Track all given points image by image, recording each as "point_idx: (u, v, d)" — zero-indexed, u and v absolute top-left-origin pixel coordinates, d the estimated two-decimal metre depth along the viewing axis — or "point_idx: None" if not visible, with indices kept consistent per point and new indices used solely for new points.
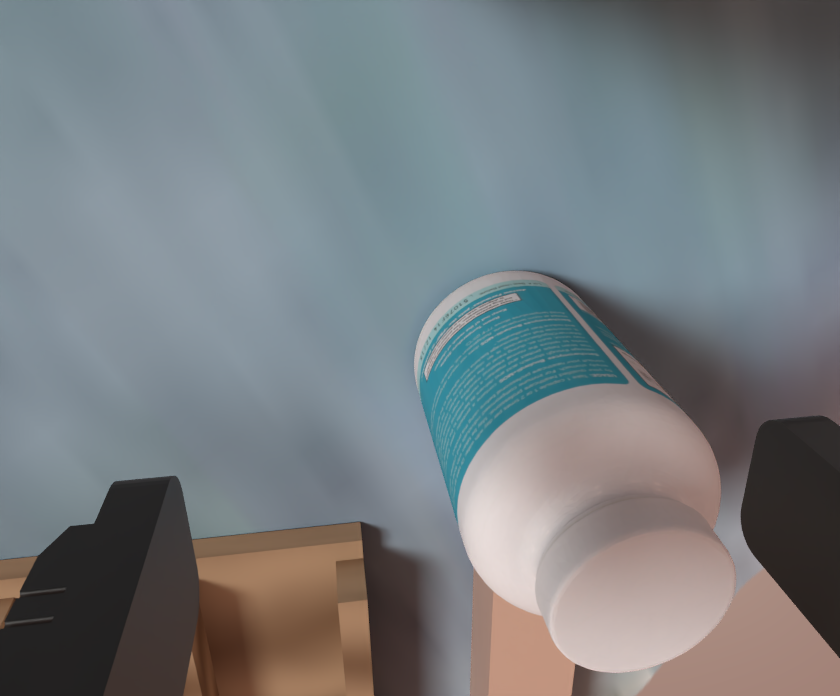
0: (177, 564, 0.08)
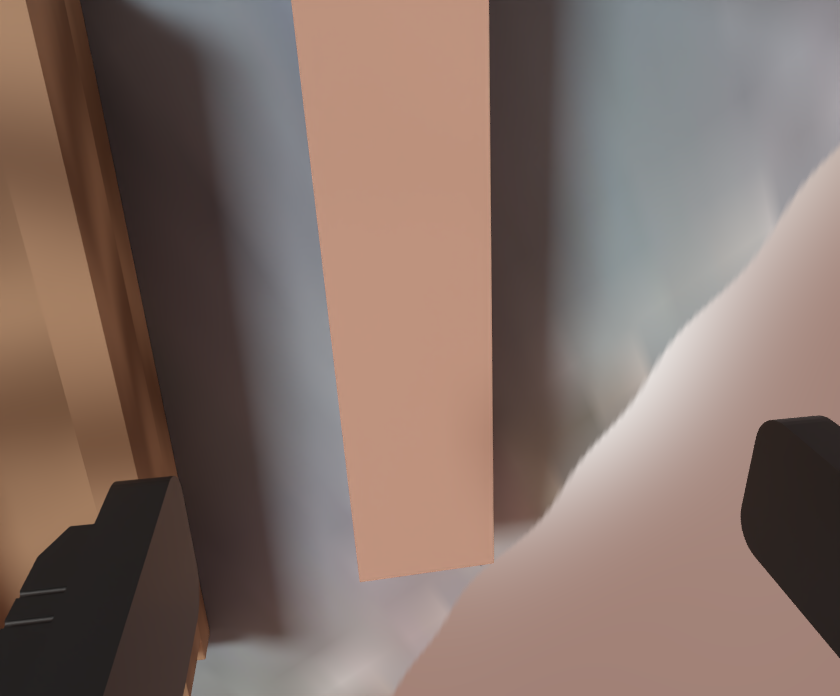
0: (177, 564, 0.08)
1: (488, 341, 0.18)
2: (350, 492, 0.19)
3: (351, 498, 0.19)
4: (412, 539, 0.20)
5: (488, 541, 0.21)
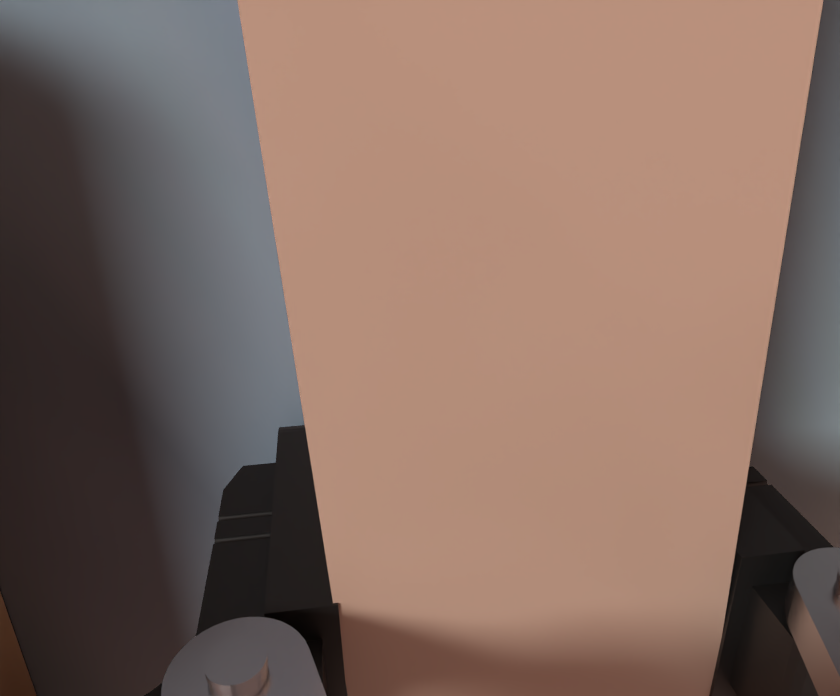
0: None
1: None
2: None
3: None
4: None
5: None
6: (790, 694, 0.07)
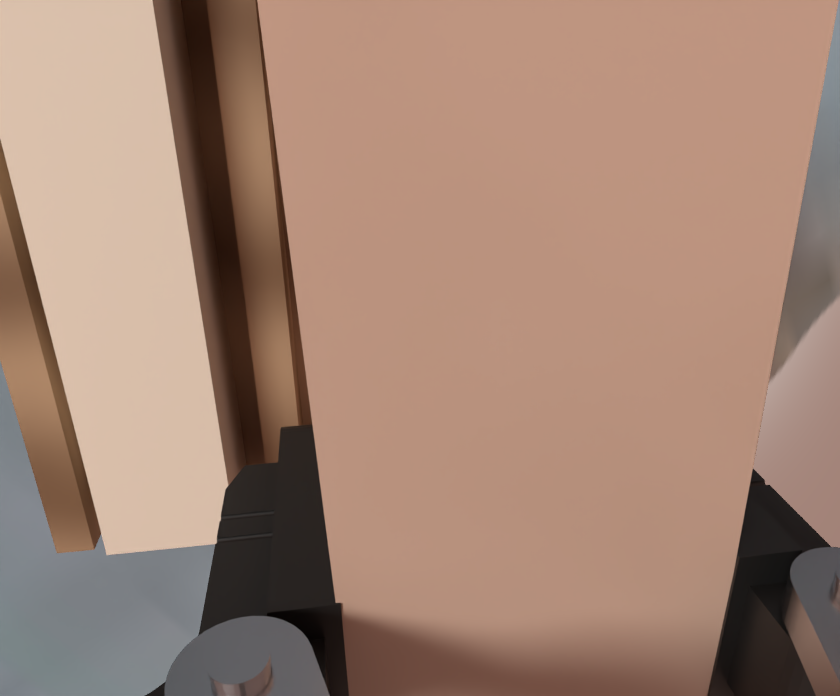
0: None
1: None
2: None
3: None
4: None
5: None
6: (787, 694, 0.07)
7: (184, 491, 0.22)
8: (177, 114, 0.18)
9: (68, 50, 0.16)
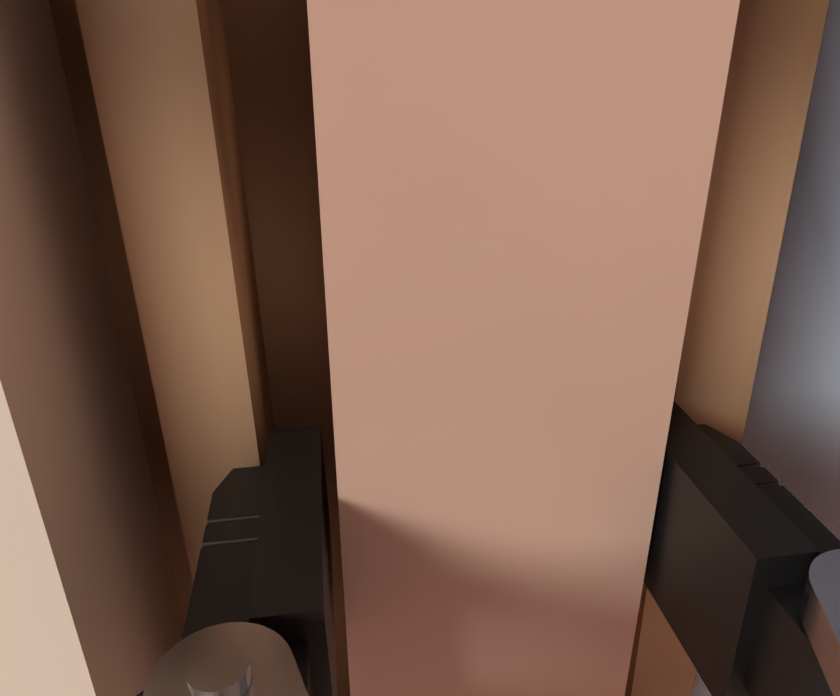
0: (326, 503, 0.09)
1: (629, 630, 0.10)
2: None
3: None
4: None
5: None
6: None
7: None
8: (8, 246, 0.08)
9: None
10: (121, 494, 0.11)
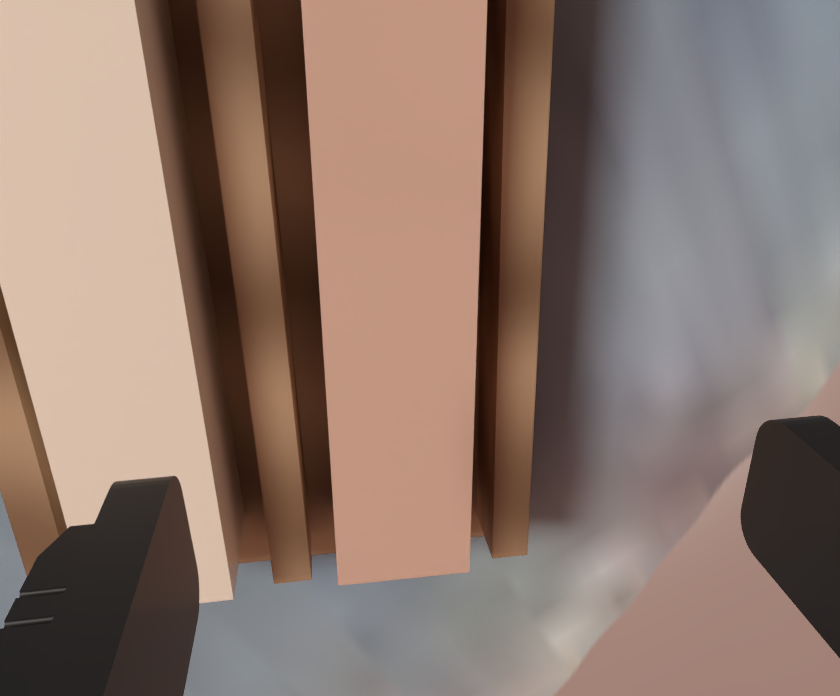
0: (177, 564, 0.08)
1: (473, 354, 0.19)
2: (333, 495, 0.20)
3: (334, 501, 0.20)
4: (391, 544, 0.21)
5: (465, 550, 0.21)
6: None
7: None
8: (165, 138, 0.16)
9: (43, 68, 0.15)
10: (201, 292, 0.19)
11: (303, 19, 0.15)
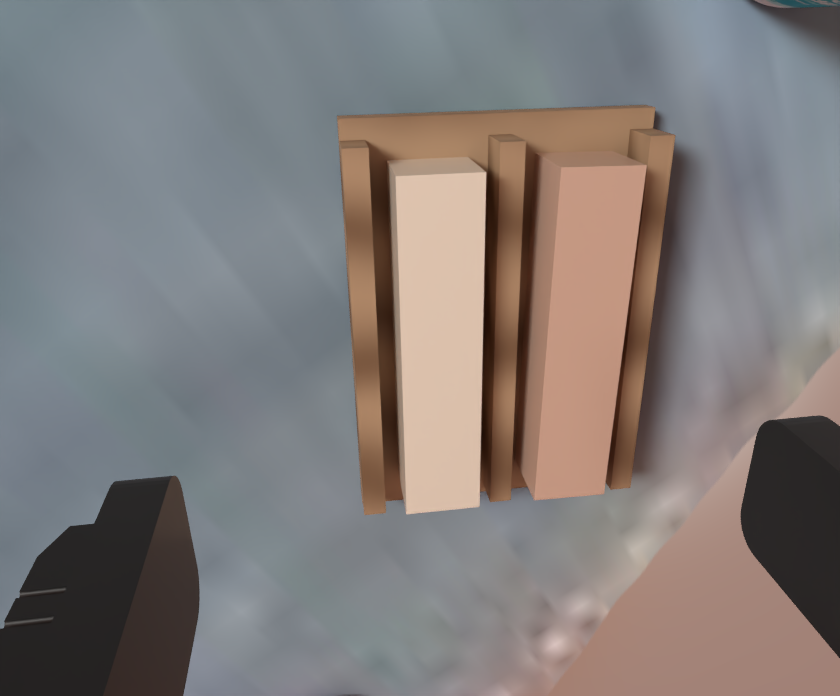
0: (177, 564, 0.08)
1: (617, 376, 0.36)
2: (538, 450, 0.37)
3: (538, 453, 0.38)
4: (564, 477, 0.38)
5: (602, 481, 0.39)
6: None
7: (455, 476, 0.37)
8: None
9: (441, 250, 0.32)
10: None
11: (556, 225, 0.32)
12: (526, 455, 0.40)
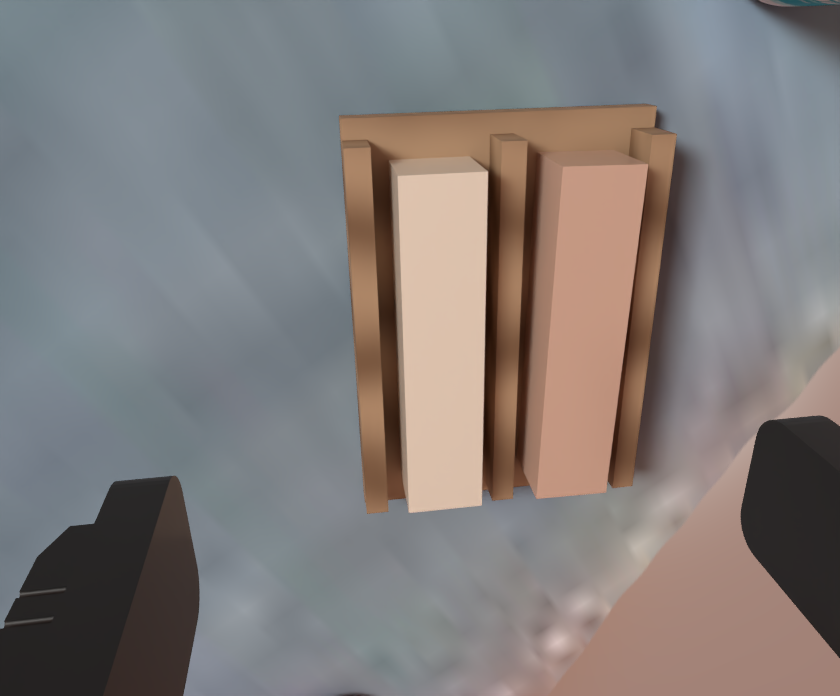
0: (177, 564, 0.08)
1: (619, 375, 0.36)
2: (540, 448, 0.38)
3: (540, 452, 0.38)
4: (566, 476, 0.39)
5: (604, 479, 0.39)
6: None
7: (457, 475, 0.38)
8: None
9: (443, 249, 0.32)
10: None
11: (558, 224, 0.33)
12: (528, 454, 0.40)
